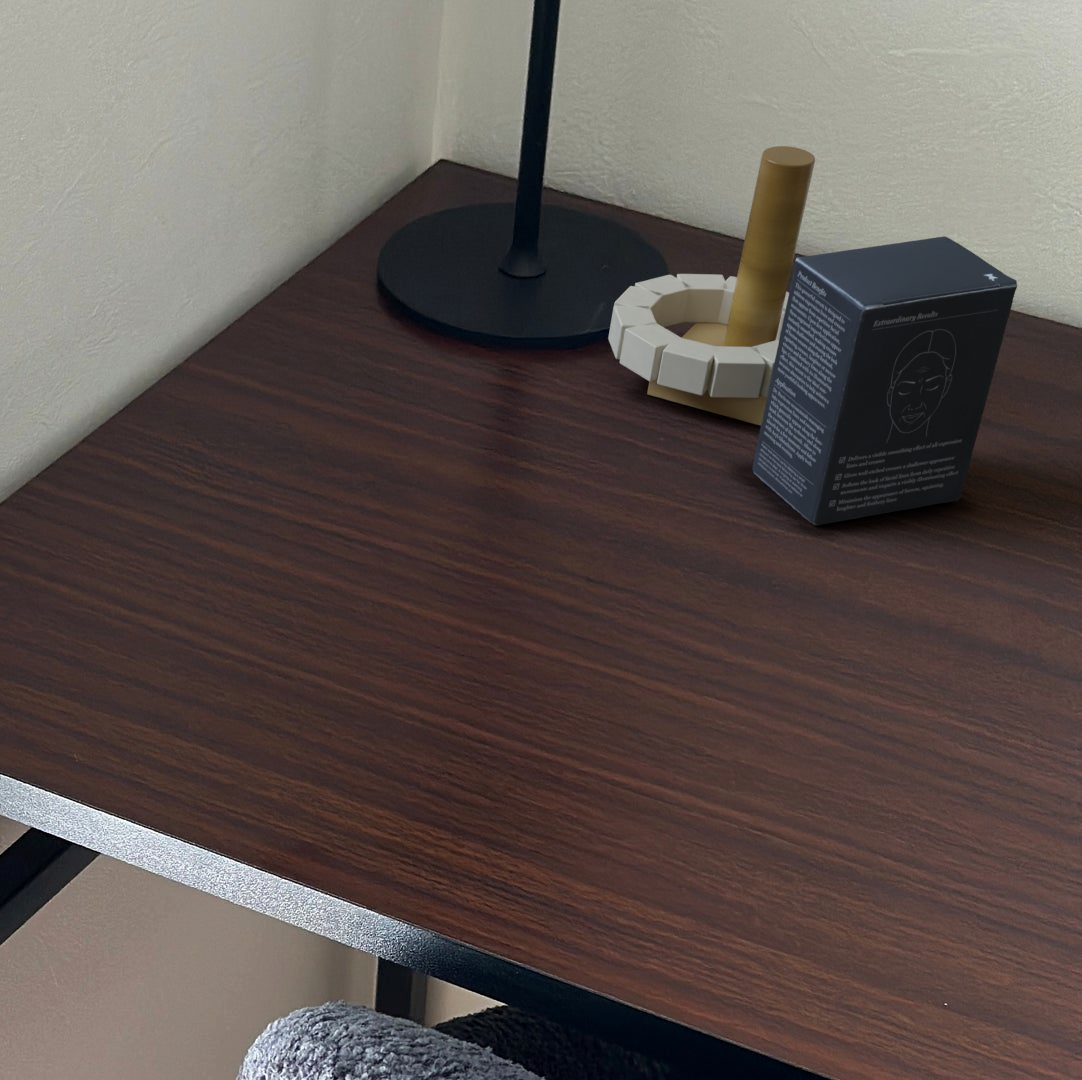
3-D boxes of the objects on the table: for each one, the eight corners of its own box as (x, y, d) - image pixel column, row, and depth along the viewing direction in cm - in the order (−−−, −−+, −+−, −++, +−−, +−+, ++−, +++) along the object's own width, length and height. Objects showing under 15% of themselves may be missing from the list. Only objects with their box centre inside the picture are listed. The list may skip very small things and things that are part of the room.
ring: (842, 337, 117) (850, 303, 116) (781, 416, 110) (789, 381, 109) (650, 291, 121) (656, 257, 120) (580, 365, 114) (586, 330, 113)
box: (891, 448, 111) (947, 231, 105) (961, 505, 107) (1024, 283, 100) (745, 471, 109) (793, 252, 102) (811, 530, 105) (865, 305, 98)
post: (832, 377, 117) (886, 148, 110) (784, 432, 112) (838, 197, 105) (698, 342, 120) (743, 116, 112) (646, 394, 115) (689, 162, 108)
